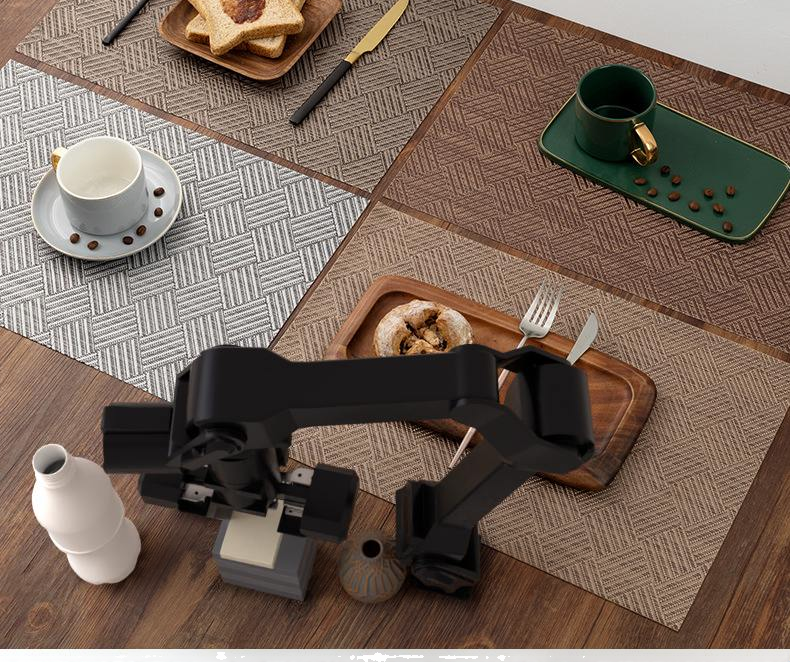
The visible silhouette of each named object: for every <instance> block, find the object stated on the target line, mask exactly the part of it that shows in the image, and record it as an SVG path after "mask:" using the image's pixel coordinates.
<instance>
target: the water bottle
mask: <svg viewBox="0 0 790 662" xmlns="http://www.w3.org/2000/svg"><path fill="white" fill-rule="evenodd" d="M31 463H32V468H33V471H34V473H35V474H34V475H35V479H36V480H35V483H34V484H33V485H34V486H33V490H32V493H31V494H32V495H31V504H32V510H33V513H34V515H35V518H36V521H38V523H39V524H40V525H41V527H43V528H44V529H45V530H46V531H47V533H48V535H49V538H50V539H51V541H52V542H53V544H54V545H55V547H56V548H57V549H59V550H60V551H61V552H62V553H65V554H66V557H67V560H68V563H69V565H70V567H71V569H72V571H74V573H75V574H76V575H77V576H78V577H79V578H81V579H82V581H83V580H84V581H85V582H87V583H88V584H91V585H95V586H100V585H102V584H116V583H119V582H122V581H123V580H125V579H126V578H128V576H129V575H131V573H132V572H133V571H134V570H135V568H136V565H137V563H138V557H139V555H140V552H141V551H142V544H141V542H142V541H141V538H140V533H139V531H138V529H137V527H136V525H135V524H134V523H133V522H132V521H131V520H130V519H129V518H127V517H126V511H125V505H124V503H123V501H122V499H121V496H120V495H119V494H118V493H117V491H116V490H115V489H114V487H113V484H112V480H111V479H110V477H109V474H106V473H105V472H104V469H103V467H101V466H100V465H99V464H98V463H96V462H94V461H92V460H91V459H88V458H85V457H80V456H79V457H78V456H73V455H72V454H71V453H69V452H67V449H66V448H64V447H63V446H62V445H61V444H57V443H48V444H45V445H42V446H41V447H40V448H39V449H37V450H36V451H35V453H34V455H33V457H32V462H31Z"/></svg>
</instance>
